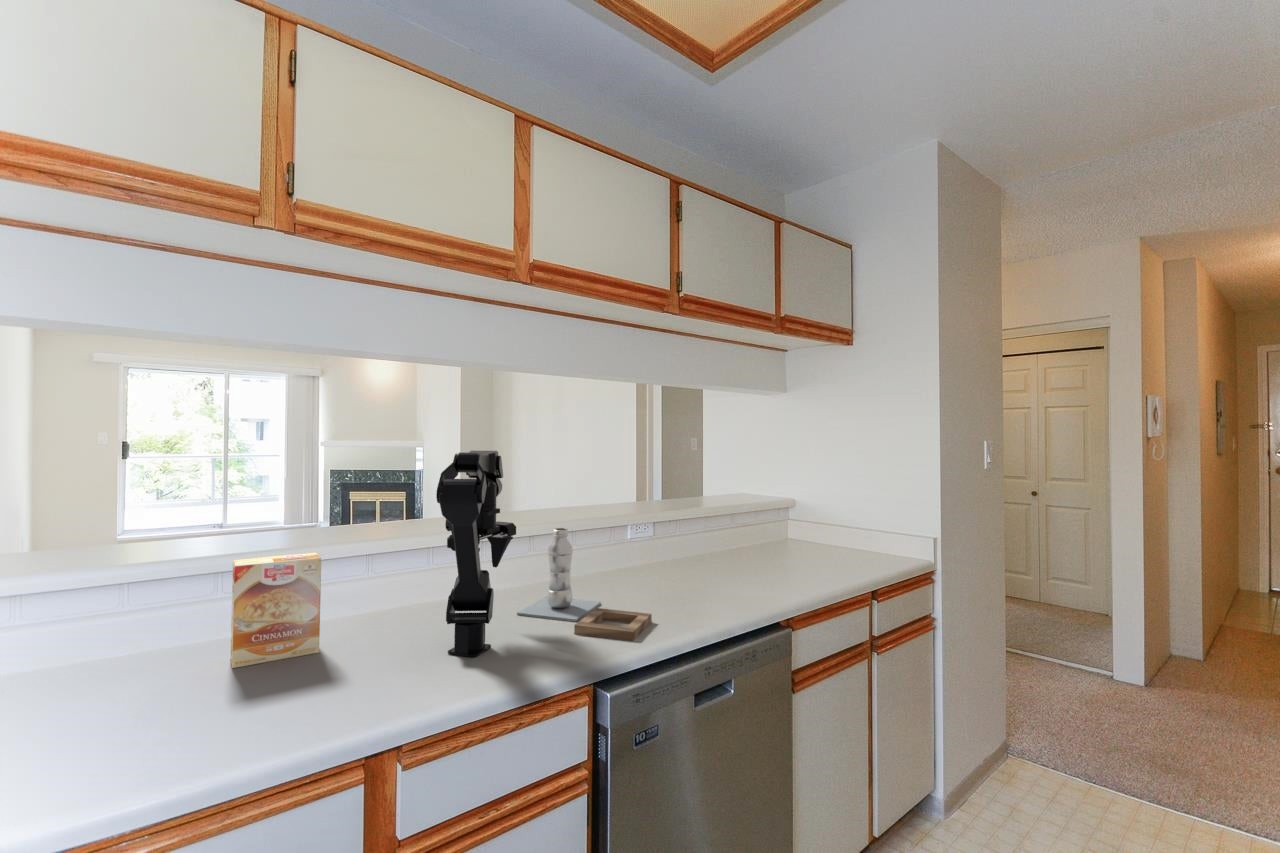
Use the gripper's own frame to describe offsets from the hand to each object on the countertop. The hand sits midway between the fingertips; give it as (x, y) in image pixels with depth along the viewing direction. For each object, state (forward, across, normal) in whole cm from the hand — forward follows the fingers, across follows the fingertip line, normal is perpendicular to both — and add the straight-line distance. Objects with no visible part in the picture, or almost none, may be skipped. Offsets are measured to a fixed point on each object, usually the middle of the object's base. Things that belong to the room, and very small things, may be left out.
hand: (483, 571), depth 140 cm
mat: (+14, -20, +9) cm, 26 cm away
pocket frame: (+13, -12, +28) cm, 33 cm away
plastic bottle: (+13, -19, +9) cm, 25 cm away
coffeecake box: (+12, +31, -27) cm, 43 cm away
